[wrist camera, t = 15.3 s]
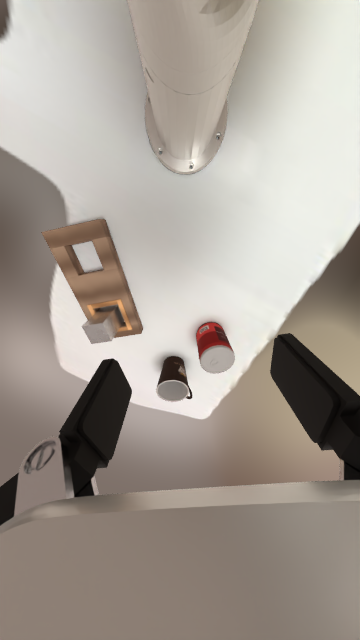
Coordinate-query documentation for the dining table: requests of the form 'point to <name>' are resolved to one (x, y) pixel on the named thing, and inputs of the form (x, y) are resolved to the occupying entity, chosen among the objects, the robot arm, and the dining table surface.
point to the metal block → (104, 324)
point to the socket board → (95, 272)
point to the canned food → (214, 348)
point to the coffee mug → (173, 381)
